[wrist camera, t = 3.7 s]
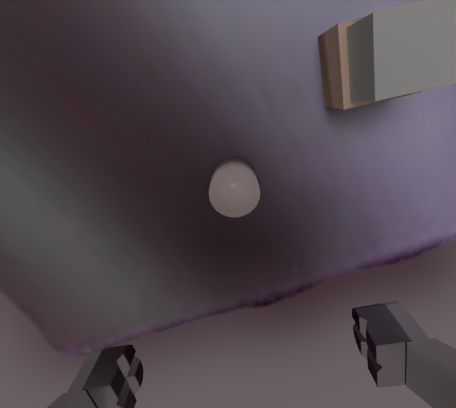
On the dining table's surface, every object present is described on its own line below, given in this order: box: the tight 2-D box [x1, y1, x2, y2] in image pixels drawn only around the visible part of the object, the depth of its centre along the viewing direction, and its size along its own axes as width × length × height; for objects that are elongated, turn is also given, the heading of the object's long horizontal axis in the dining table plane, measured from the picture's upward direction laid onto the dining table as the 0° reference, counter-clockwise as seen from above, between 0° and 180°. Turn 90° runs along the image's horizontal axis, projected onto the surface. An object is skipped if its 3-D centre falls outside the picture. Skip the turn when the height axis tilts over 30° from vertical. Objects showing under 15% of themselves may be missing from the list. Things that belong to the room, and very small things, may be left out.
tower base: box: [318, 17, 422, 110], centre depth 23 cm, size 6×6×5 cm
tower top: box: [346, 0, 456, 101], centre depth 19 cm, size 5×5×4 cm
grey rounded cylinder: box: [209, 157, 260, 217], centre depth 27 cm, size 5×5×5 cm
